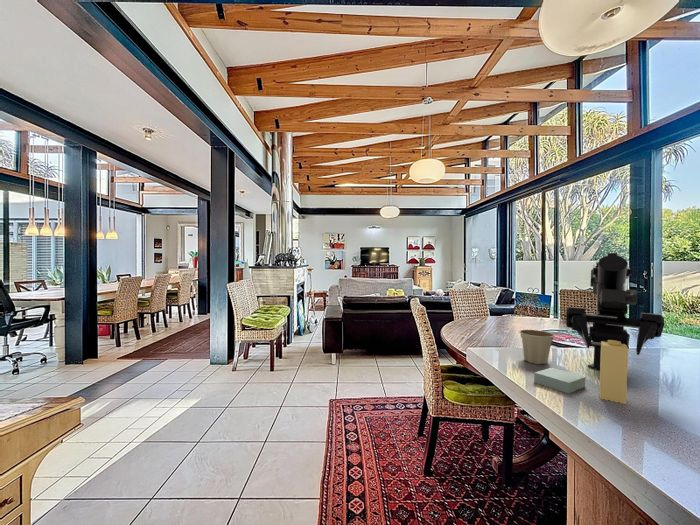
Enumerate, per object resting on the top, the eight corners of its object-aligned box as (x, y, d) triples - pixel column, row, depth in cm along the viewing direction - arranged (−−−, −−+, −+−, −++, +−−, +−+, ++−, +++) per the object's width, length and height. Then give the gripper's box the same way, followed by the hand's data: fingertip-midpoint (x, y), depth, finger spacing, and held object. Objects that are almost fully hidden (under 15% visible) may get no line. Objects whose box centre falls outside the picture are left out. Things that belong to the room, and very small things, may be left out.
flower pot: (559, 367, 99) (560, 337, 98) (523, 364, 100) (524, 335, 100) (547, 358, 108) (548, 330, 108) (514, 355, 110) (515, 328, 110)
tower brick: (599, 392, 80) (601, 337, 80) (623, 397, 78) (625, 340, 78) (600, 398, 77) (602, 341, 76) (626, 404, 74) (628, 344, 74)
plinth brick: (551, 377, 90) (551, 367, 90) (585, 387, 84) (585, 376, 84) (534, 382, 86) (534, 372, 86) (568, 393, 79) (568, 382, 79)
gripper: (567, 275, 89) (565, 324, 80) (664, 279, 79) (673, 336, 70) (567, 303, 96) (564, 351, 87) (656, 310, 86) (664, 365, 76)
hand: (612, 350), depth 80 cm, fingers open, 9 cm apart
